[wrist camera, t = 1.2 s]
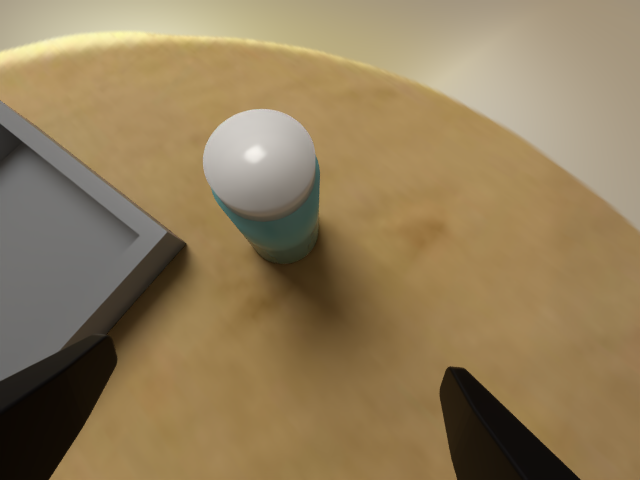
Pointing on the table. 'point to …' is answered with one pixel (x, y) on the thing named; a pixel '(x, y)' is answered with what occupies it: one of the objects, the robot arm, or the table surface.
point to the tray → (65, 247)
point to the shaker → (266, 182)
